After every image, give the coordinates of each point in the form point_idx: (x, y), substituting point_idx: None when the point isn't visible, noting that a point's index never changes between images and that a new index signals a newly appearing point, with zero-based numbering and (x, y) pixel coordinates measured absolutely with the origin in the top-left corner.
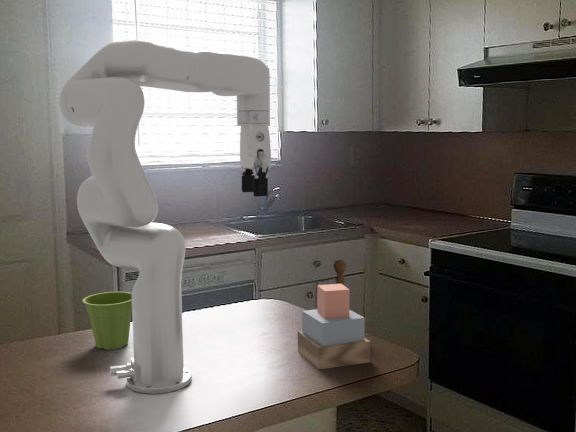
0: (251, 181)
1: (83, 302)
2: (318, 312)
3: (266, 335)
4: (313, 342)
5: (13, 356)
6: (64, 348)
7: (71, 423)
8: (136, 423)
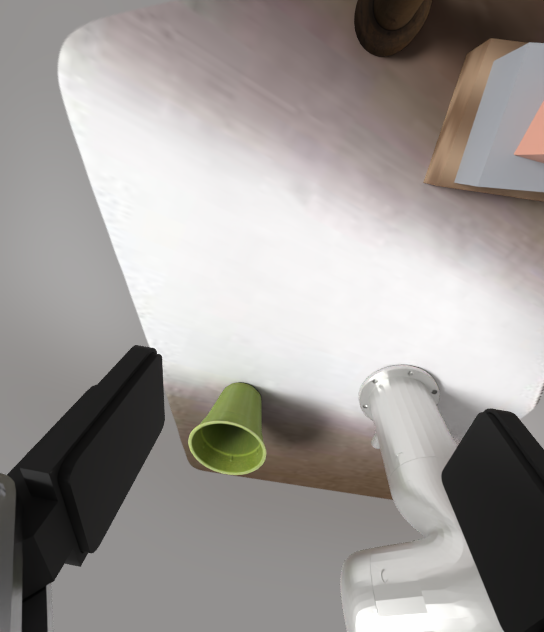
0: (114, 441)
1: (232, 474)
2: (524, 157)
3: (311, 194)
4: (519, 194)
5: None
6: None
7: None
8: None
